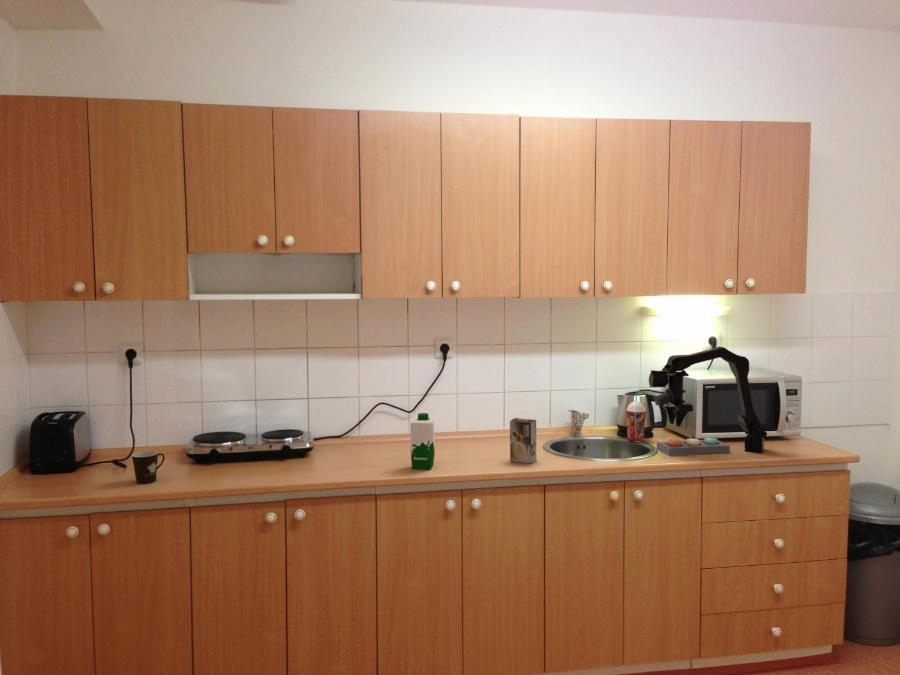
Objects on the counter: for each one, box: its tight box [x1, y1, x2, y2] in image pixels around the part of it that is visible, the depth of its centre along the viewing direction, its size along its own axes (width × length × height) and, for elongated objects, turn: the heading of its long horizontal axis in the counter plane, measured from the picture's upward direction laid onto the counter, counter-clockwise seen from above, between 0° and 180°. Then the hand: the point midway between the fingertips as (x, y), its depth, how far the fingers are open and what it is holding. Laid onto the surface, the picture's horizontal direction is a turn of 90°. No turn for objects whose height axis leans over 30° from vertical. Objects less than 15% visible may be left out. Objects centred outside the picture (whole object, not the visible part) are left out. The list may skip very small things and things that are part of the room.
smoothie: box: [625, 394, 647, 442], centre depth 305 cm, size 8×8×20 cm
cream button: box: [685, 438, 700, 446], centre depth 287 cm, size 5×5×2 cm
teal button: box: [704, 437, 719, 445], centre depth 289 cm, size 5×5×2 cm
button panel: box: [656, 439, 731, 457], centre depth 288 cm, size 11×26×3 cm, turn 99°
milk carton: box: [409, 412, 436, 471], centre depth 266 cm, size 9×9×20 cm
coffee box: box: [509, 417, 538, 464], centre depth 274 cm, size 9×6×16 cm
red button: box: [667, 438, 682, 447], centre depth 286 cm, size 5×5×2 cm
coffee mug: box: [131, 450, 166, 485], centre depth 251 cm, size 12×9×10 cm
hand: (674, 425), depth 285 cm, fingers open, 5 cm apart
